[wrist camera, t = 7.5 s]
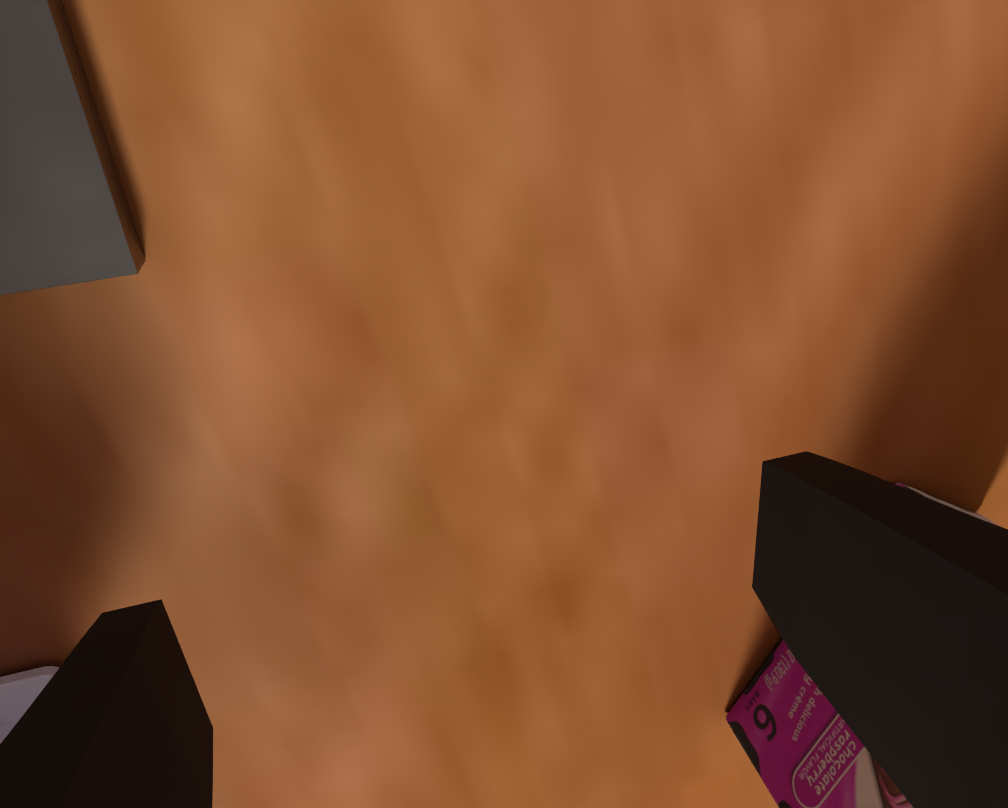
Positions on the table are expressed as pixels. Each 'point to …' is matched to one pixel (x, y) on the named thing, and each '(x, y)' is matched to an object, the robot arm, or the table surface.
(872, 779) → the candy bar box
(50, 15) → the jack housing
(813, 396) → the table surface
